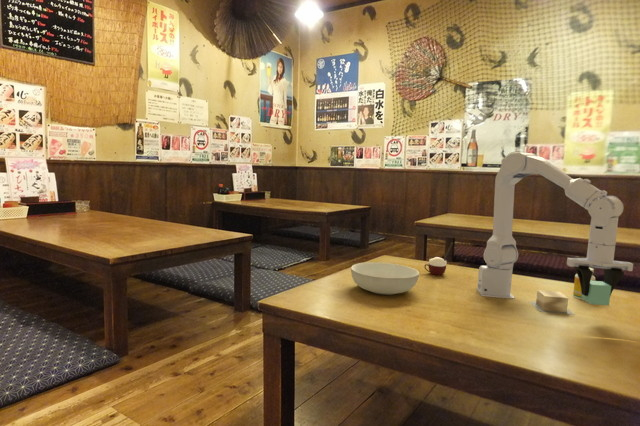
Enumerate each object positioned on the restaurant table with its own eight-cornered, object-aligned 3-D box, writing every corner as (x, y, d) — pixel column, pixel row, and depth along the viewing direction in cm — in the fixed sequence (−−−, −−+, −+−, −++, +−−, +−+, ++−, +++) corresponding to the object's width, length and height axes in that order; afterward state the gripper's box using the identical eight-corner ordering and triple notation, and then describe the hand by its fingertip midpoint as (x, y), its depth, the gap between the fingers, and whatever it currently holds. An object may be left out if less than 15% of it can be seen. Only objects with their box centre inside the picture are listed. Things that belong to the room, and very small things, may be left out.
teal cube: (589, 303, 106) (591, 284, 105) (581, 298, 110) (583, 279, 109) (608, 305, 105) (611, 286, 104) (600, 300, 109) (602, 281, 109)
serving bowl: (431, 298, 124) (433, 275, 123) (369, 304, 116) (370, 280, 116) (394, 279, 143) (395, 260, 143) (339, 283, 136) (339, 263, 135)
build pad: (539, 312, 114) (539, 311, 114) (528, 302, 123) (528, 301, 123) (574, 315, 113) (575, 314, 113) (561, 305, 122) (561, 304, 122)
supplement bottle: (577, 294, 133) (581, 265, 132) (596, 299, 129) (599, 269, 128) (569, 297, 130) (572, 267, 129) (588, 302, 126) (591, 271, 125)
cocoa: (423, 274, 153) (423, 242, 152) (428, 271, 158) (428, 239, 157) (449, 278, 148) (449, 244, 147) (453, 274, 153) (454, 241, 152)
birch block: (543, 310, 116) (544, 296, 115) (536, 303, 121) (537, 290, 121) (566, 312, 115) (568, 298, 114) (558, 305, 120) (559, 291, 120)
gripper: (577, 244, 103) (571, 297, 105) (642, 248, 101) (635, 303, 102) (565, 239, 110) (560, 289, 112) (626, 243, 108) (620, 294, 109)
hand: (595, 295), depth 107 cm, fingers closed on teal cube, 4 cm apart
